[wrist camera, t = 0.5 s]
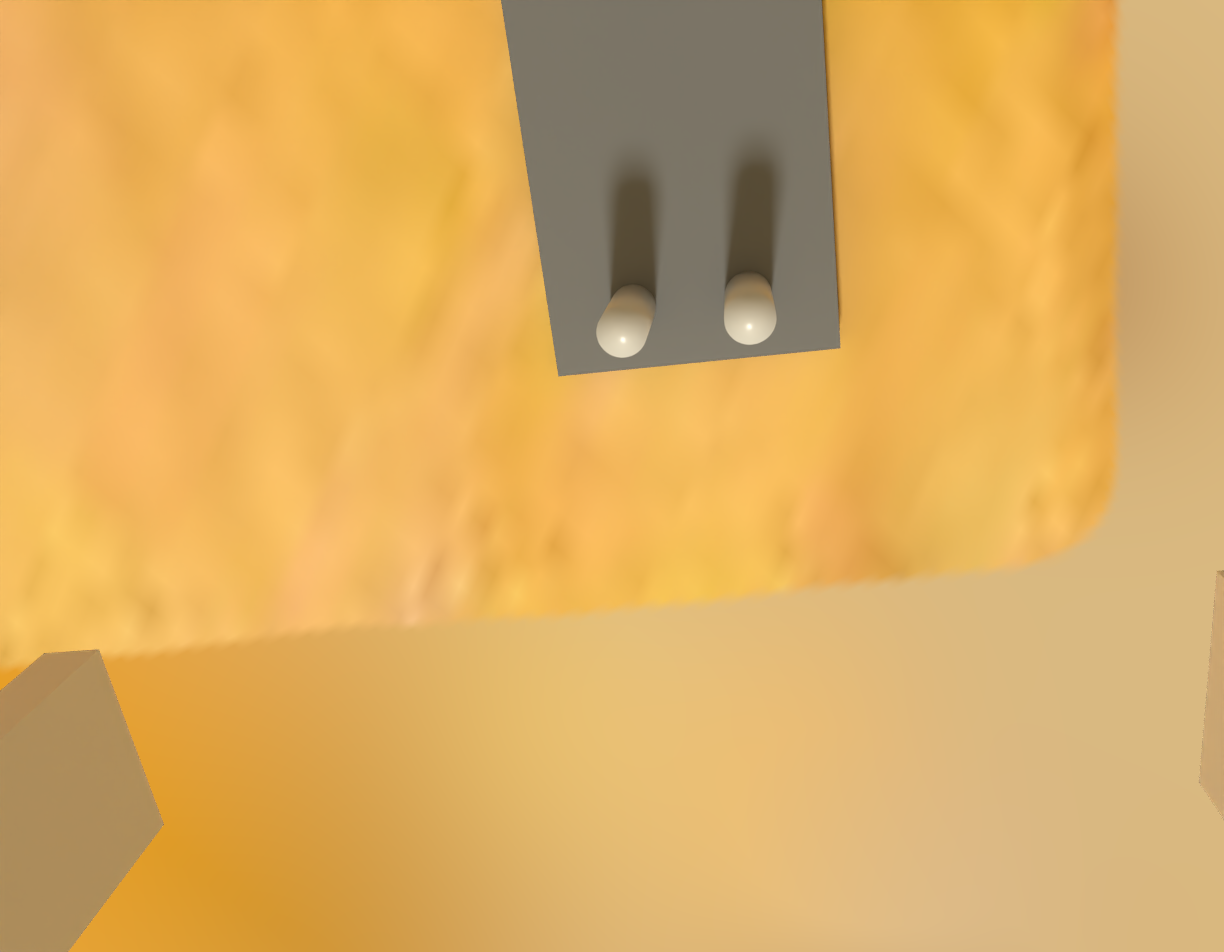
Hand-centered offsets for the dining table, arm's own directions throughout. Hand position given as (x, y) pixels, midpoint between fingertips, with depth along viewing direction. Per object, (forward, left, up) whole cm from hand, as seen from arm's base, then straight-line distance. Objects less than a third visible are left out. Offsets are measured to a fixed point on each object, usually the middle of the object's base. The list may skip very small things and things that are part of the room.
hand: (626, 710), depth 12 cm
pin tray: (-6, 0, -26) cm, 26 cm away
